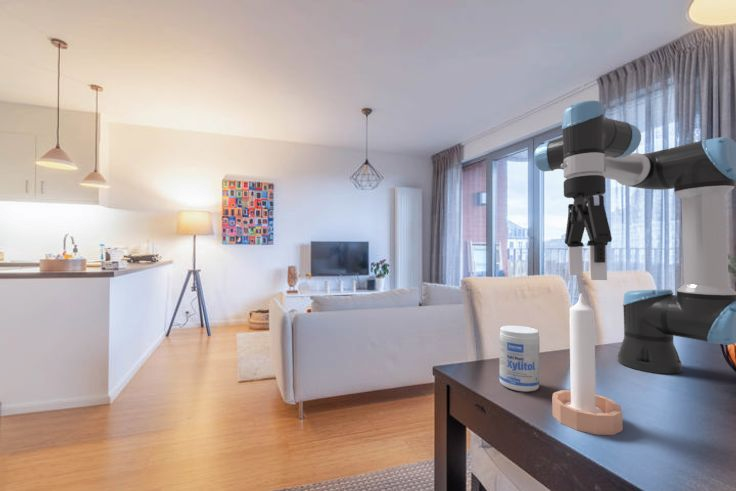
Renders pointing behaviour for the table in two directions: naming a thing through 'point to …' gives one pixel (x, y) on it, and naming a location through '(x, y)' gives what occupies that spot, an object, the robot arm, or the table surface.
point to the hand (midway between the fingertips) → (585, 277)
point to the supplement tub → (519, 358)
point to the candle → (582, 357)
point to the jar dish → (588, 415)
